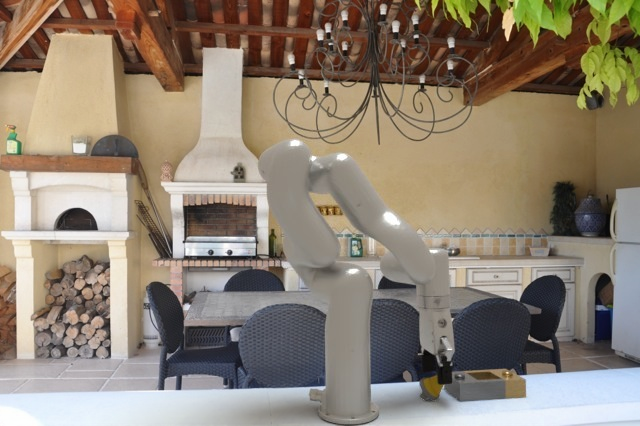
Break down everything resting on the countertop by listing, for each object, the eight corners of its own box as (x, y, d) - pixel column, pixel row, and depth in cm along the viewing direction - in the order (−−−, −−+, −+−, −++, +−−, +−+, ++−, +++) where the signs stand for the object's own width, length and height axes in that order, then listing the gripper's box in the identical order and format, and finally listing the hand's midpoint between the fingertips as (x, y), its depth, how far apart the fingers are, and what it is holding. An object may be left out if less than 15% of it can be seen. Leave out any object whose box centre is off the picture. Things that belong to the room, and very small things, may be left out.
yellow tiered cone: (427, 395, 119) (457, 370, 116) (429, 412, 114) (461, 386, 111) (410, 382, 118) (439, 357, 115) (412, 399, 113) (443, 373, 110)
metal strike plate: (460, 401, 113) (459, 380, 113) (444, 388, 122) (443, 369, 122) (526, 397, 116) (525, 376, 116) (505, 385, 125) (505, 366, 125)
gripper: (465, 307, 108) (468, 387, 107) (435, 296, 125) (437, 365, 125) (431, 309, 107) (435, 390, 106) (405, 297, 124) (408, 368, 123)
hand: (436, 377), depth 115 cm, fingers open, 9 cm apart
